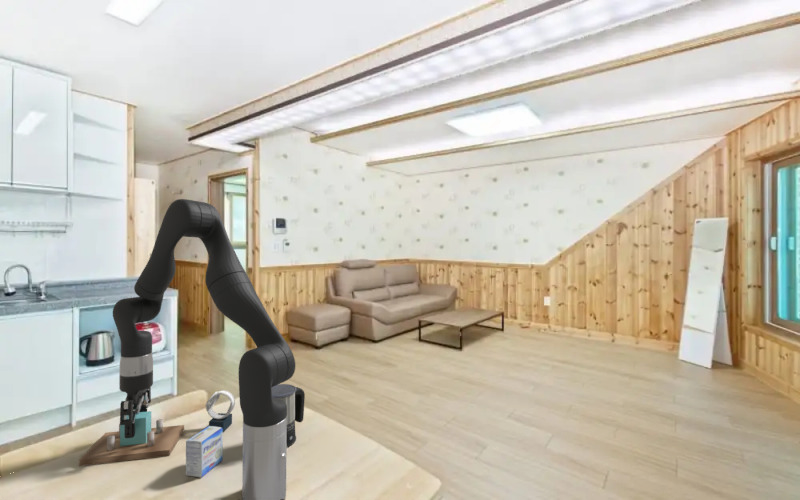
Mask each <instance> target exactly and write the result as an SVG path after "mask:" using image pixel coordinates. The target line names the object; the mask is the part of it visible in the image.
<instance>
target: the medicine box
mask: <svg viewBox="0 0 800 500" xmlns="http://www.w3.org/2000/svg"><path fill="white" fill-rule="evenodd" d="M223 434H224V432H223V428H221V427H215V426H209V425H208V426H206V427H205V428H203V429H202V430H200V431H198V432H197V433H196V434H194V435H193V436H191V437H190V438H189V439H187V440H186V441H185V475H186V476H187V477H194V478H195V477H196V478H203V477H204V476H205V475H207V474H208V473H209V472H210V471H211V470H212V469H214V468H215V466H217V465H218V464H219V463H221V462H222V461H223V449H224V447H223V442H224V441H223V440H224V439H223V436H224V435H223Z"/></svg>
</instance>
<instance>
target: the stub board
mask: <svg viewBox="0 0 800 500" xmlns="http://www.w3.org/2000/svg"><path fill="white" fill-rule="evenodd" d="M155 422H156V423H155V427H151V431H150V432H148V433H147V443H145V444H136V445H126V446H120V423H119V424H118V431H109V432H108V431H107V432H104V434H103V435H102V436H101V437H100V438H99V439H97V441H96V442H95V443H94V444H93V445H92V446H91V447H89V449H88V450H87V451H86V452H85V453H84V454H83V455H82V456H81V457H80V458H79V459H78V466H79V467H81V466H83V467H84V466H89V465H90V466H91V465H98V464H109V463H115V462H116V463H117V462H124V461H134V460H141V459H150V458H160V457H170V456H171V453H173V451H174V449H175V447H176V445H177V443H178V441H179V440H180V438H181V437H182V434H183V433H184V431H185V424H180V425H170V426H164V419H162V418H159V419H157V420H156V421H155Z"/></svg>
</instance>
